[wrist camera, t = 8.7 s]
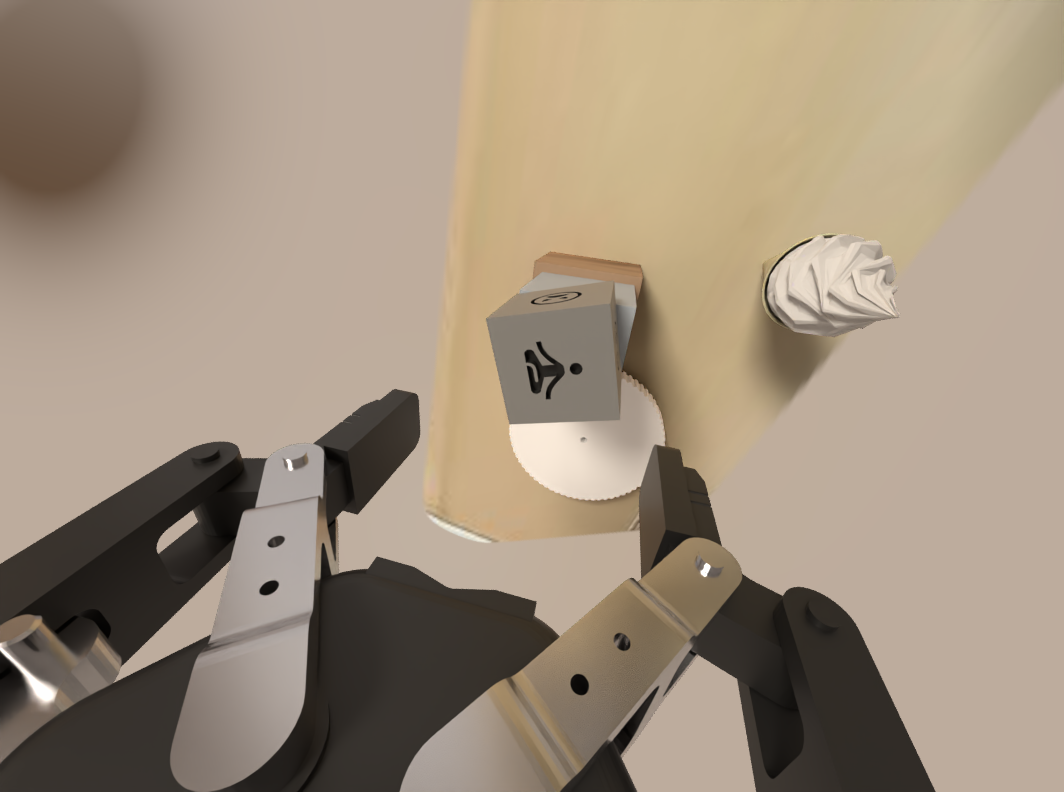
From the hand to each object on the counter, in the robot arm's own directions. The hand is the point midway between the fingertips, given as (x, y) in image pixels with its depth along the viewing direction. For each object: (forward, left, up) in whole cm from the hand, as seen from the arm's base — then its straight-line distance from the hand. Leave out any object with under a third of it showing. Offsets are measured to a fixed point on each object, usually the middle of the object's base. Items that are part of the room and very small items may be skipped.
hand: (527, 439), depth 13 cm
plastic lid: (+12, +2, -22) cm, 25 cm away
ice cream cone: (-5, +12, -21) cm, 25 cm away
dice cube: (-1, 0, -9) cm, 9 cm away
